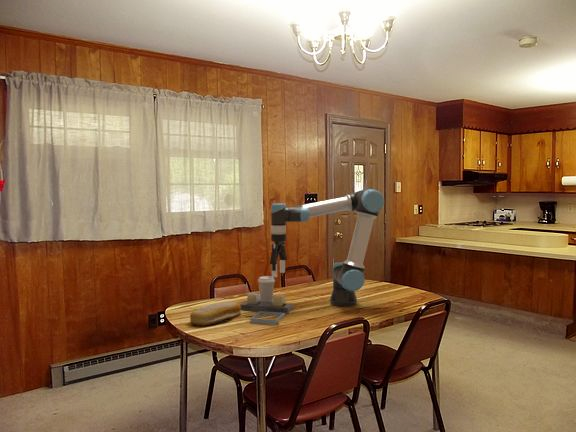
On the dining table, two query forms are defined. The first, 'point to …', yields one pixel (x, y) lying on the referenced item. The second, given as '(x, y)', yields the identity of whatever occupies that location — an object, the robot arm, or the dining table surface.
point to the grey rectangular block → (253, 298)
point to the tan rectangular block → (279, 300)
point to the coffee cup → (266, 288)
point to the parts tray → (266, 321)
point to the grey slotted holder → (266, 307)
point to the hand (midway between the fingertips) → (278, 274)
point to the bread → (215, 313)
